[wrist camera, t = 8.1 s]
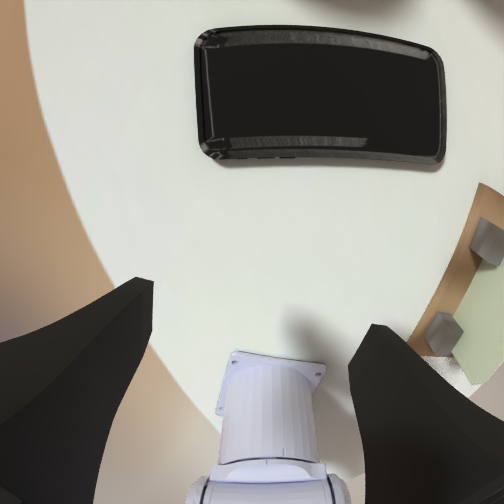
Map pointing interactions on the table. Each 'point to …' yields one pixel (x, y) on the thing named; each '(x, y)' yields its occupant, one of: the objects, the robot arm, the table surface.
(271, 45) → the phone
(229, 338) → the table surface
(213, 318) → the table surface
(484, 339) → the door panel
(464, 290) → the rail
